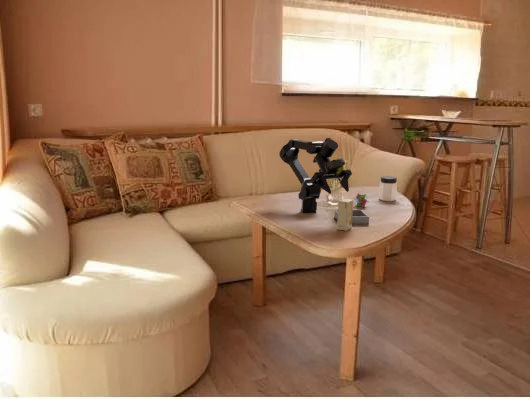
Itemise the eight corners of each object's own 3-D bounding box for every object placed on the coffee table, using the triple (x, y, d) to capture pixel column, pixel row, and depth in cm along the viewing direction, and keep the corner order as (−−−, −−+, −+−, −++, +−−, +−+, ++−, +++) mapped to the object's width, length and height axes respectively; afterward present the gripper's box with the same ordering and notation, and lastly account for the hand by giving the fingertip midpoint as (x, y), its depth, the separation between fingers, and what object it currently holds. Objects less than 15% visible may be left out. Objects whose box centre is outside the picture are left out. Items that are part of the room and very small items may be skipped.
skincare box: (346, 231, 187) (347, 202, 185) (336, 229, 190) (338, 201, 187) (352, 227, 193) (353, 199, 190) (342, 225, 195) (344, 198, 192)
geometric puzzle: (373, 203, 226) (367, 189, 228) (363, 205, 222) (357, 190, 224) (364, 209, 231) (358, 195, 234) (354, 211, 228) (348, 197, 230)
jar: (398, 200, 241) (400, 178, 239) (384, 201, 240) (385, 179, 237) (390, 197, 250) (391, 175, 247) (376, 197, 248) (377, 176, 245)
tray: (341, 224, 196) (341, 217, 196) (334, 217, 208) (334, 209, 207) (368, 224, 197) (369, 216, 197) (360, 216, 209) (360, 209, 208)
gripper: (314, 153, 192) (329, 182, 185) (350, 151, 201) (365, 179, 193) (304, 169, 201) (318, 198, 193) (338, 167, 209) (353, 194, 202)
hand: (339, 192), depth 195 cm, fingers open, 9 cm apart
